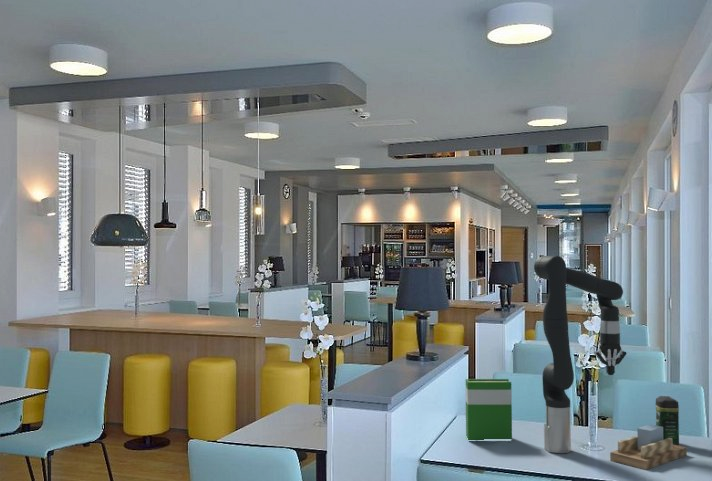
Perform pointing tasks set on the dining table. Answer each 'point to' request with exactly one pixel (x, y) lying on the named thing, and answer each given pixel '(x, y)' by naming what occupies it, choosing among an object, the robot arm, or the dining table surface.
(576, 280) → the robot arm
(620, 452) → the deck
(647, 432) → the block
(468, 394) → the hardback book
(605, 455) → the dining table surface
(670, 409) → the coffee jar
